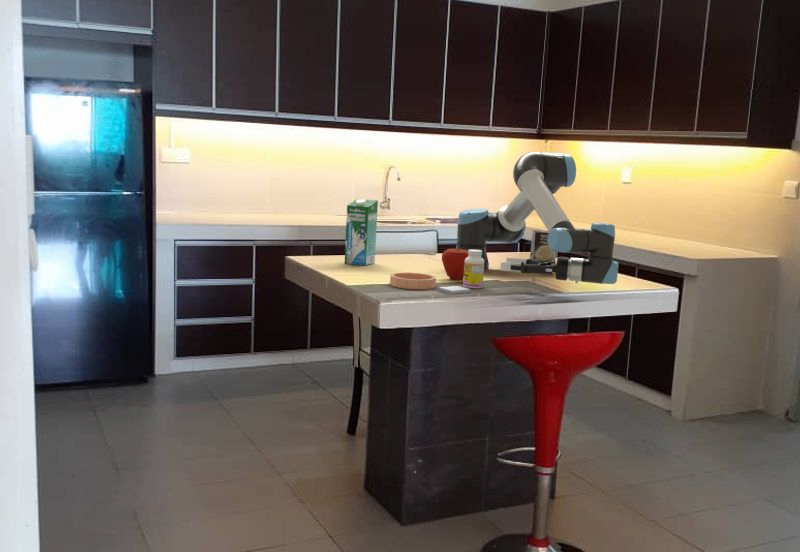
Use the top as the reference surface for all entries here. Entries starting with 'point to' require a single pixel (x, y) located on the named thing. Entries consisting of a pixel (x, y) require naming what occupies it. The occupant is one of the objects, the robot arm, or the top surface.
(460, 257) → the apple
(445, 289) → the light grey flat block
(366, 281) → the top surface
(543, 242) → the coffee box
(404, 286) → the bowl
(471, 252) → the supplement bottle
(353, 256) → the milk carton
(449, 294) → the mat
